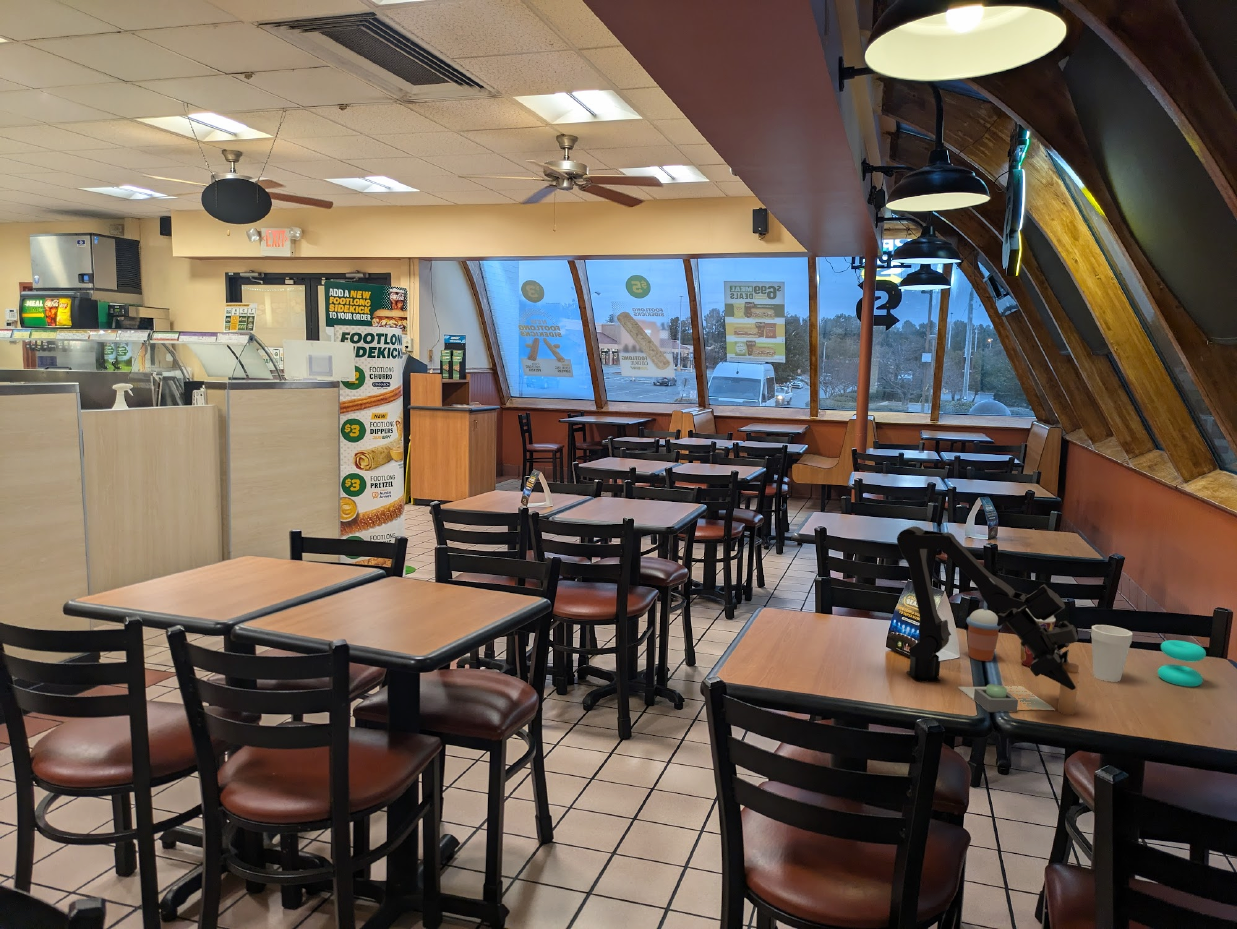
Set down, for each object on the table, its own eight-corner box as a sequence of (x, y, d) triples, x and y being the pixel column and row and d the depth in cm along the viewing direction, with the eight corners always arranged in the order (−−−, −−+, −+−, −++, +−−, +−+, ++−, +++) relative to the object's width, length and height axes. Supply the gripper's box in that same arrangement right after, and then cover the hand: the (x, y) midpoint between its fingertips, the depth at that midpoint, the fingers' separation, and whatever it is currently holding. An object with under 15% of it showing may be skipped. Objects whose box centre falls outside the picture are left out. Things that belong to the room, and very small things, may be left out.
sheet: (988, 712, 200) (989, 699, 200) (957, 687, 216) (958, 675, 215) (1057, 712, 202) (1058, 700, 201) (1021, 687, 217) (1022, 676, 217)
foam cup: (1082, 677, 227) (1087, 629, 225) (1091, 668, 233) (1096, 622, 232) (1122, 687, 220) (1127, 638, 219) (1131, 678, 227) (1136, 631, 226)
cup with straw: (995, 665, 233) (1001, 601, 231) (960, 658, 238) (966, 595, 236) (1000, 656, 241) (1006, 594, 239) (966, 649, 246) (972, 588, 244)
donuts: (1165, 636, 232) (1209, 645, 226) (1161, 671, 233) (1205, 681, 227) (1157, 644, 225) (1203, 653, 218) (1153, 680, 226) (1198, 691, 219)
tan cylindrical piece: (1063, 714, 200) (1068, 667, 199) (1054, 708, 204) (1059, 662, 203) (1078, 714, 201) (1083, 667, 199) (1068, 708, 204) (1073, 662, 203)
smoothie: (1054, 672, 230) (1061, 599, 227) (1021, 668, 231) (1028, 596, 229) (1045, 661, 238) (1052, 591, 235) (1013, 658, 239) (1020, 589, 237)
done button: (991, 703, 201) (992, 691, 201) (982, 696, 206) (983, 684, 205) (1009, 703, 202) (1010, 691, 201) (999, 696, 206) (1000, 684, 206)
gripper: (1051, 621, 194) (1101, 679, 189) (1063, 604, 210) (1110, 658, 205) (1010, 647, 200) (1058, 704, 195) (1025, 629, 215) (1070, 681, 210)
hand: (1075, 686), depth 201 cm, fingers open, 4 cm apart
